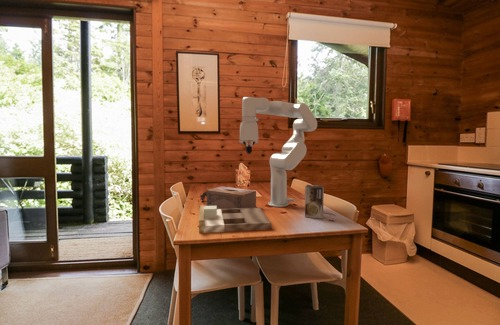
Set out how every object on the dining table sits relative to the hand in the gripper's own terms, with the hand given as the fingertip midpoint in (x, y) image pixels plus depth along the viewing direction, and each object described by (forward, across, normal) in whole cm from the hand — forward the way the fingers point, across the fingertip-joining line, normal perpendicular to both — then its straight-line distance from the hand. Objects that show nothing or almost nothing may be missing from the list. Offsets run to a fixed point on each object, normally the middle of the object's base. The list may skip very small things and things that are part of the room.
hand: (248, 153), depth 155 cm
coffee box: (+32, -32, +17) cm, 49 cm away
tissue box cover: (+33, +9, -10) cm, 35 cm away
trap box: (+32, +11, +20) cm, 39 cm away
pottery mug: (+32, +22, -26) cm, 47 cm away
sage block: (+29, +22, +20) cm, 41 cm away
